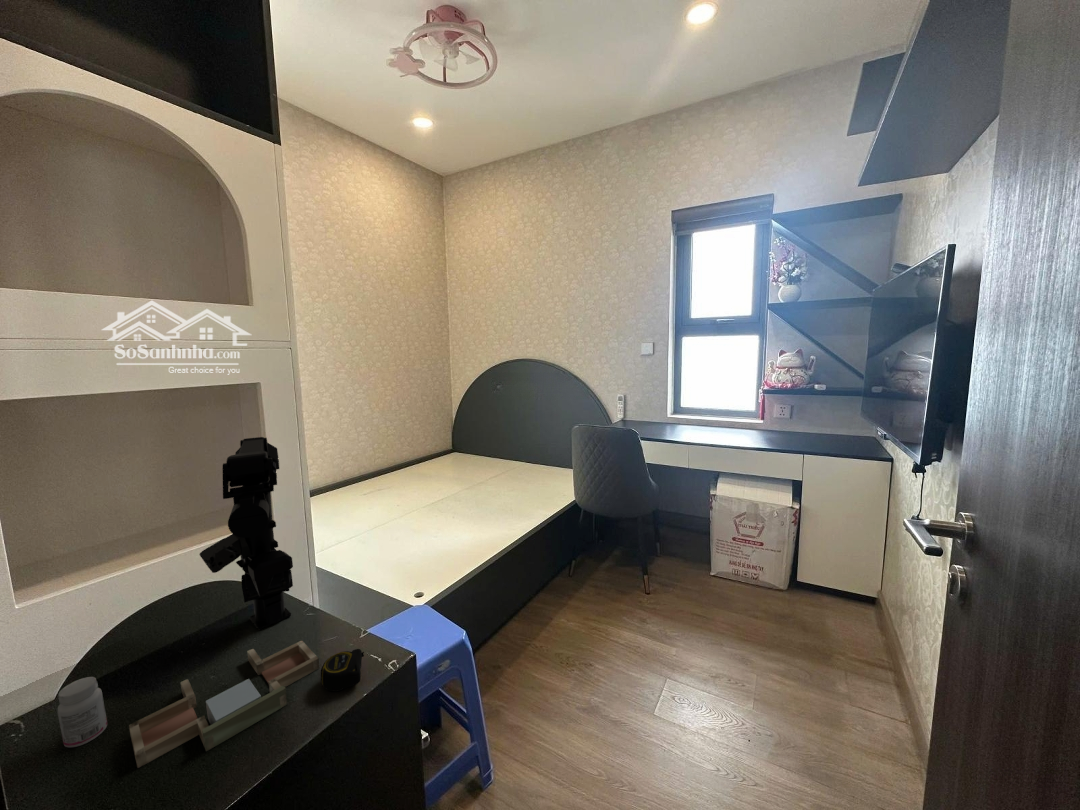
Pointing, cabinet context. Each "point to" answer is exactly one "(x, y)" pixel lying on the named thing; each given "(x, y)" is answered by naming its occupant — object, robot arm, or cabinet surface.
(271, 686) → the box
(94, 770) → the cabinet surface
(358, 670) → the tape measure
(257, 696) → the block
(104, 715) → the pill bottle
